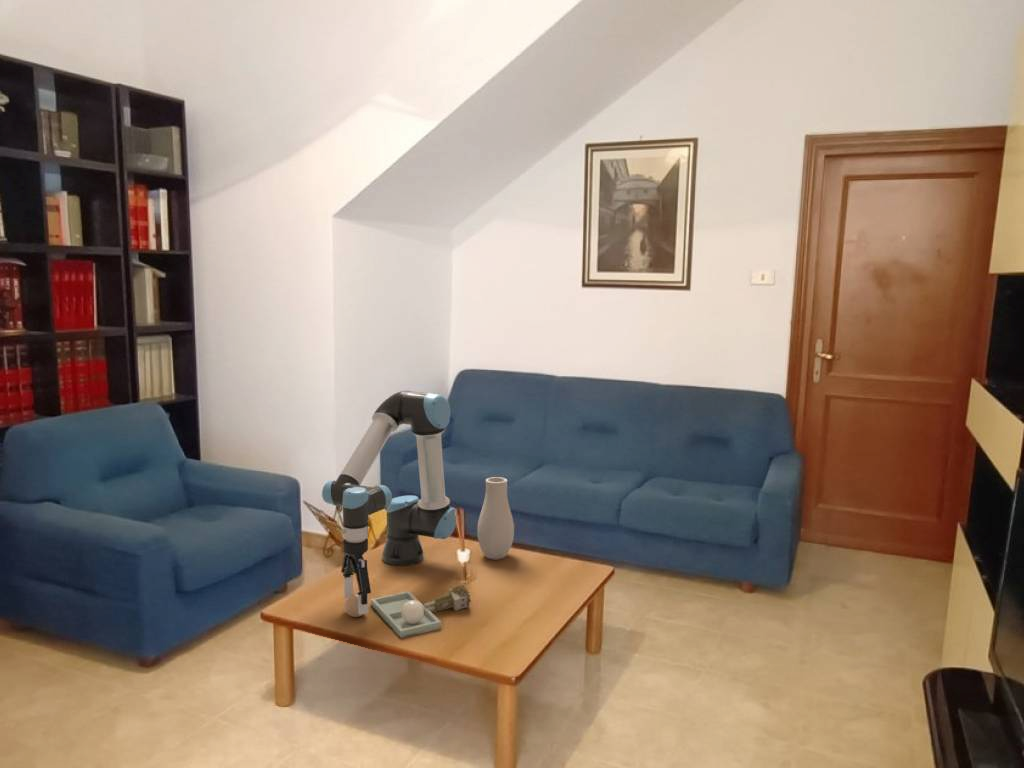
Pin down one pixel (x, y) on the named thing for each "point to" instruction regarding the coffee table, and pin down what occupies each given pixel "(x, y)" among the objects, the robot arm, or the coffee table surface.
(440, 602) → the toy
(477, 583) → the coffee table surface
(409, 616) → the cream egg
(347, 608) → the pink ball
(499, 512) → the vase
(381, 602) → the divided tray
